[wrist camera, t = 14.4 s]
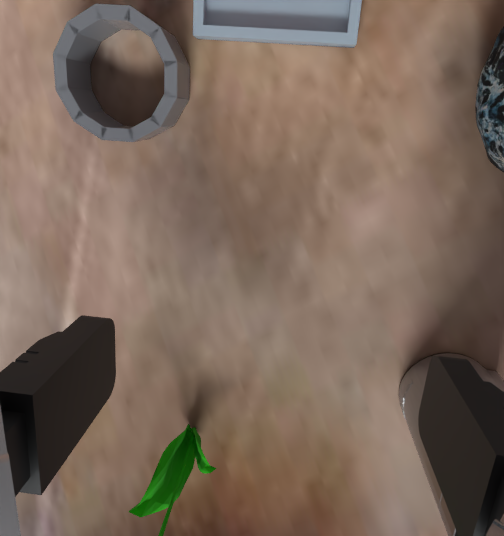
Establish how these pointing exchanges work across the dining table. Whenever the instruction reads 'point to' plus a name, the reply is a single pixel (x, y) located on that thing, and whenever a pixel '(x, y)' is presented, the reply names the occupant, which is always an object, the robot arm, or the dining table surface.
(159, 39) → the sleeve
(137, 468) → the dining table surface
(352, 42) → the tray
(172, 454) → the flower
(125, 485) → the dining table surface
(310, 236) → the dining table surface
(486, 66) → the decorative stone
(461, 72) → the dining table surface
